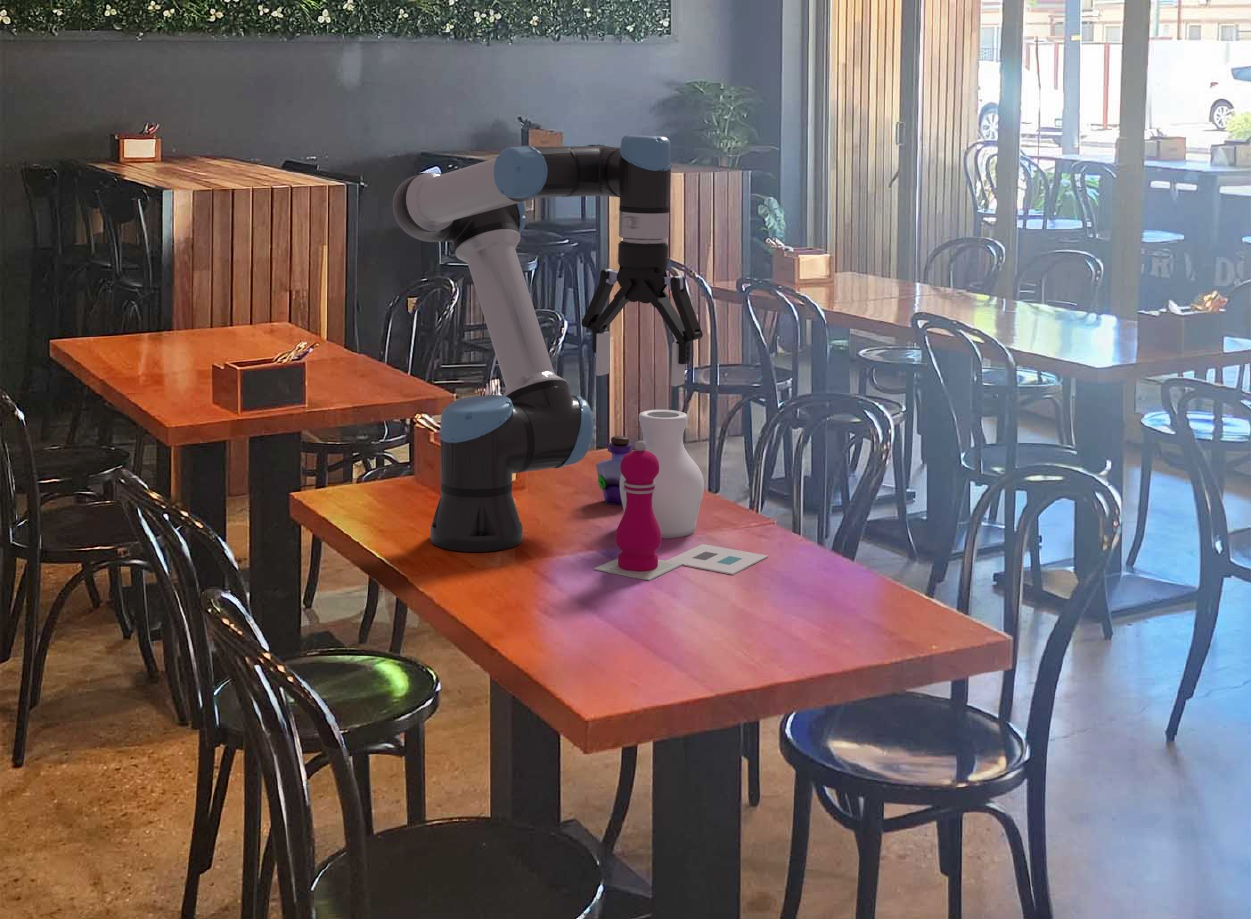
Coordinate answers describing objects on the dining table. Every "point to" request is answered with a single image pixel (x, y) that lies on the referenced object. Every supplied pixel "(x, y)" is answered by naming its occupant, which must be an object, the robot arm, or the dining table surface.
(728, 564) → the tile
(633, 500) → the pepper mill
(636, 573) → the coaster
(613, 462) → the potion bottle
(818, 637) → the dining table surface
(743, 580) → the dining table surface
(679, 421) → the vase
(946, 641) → the dining table surface
